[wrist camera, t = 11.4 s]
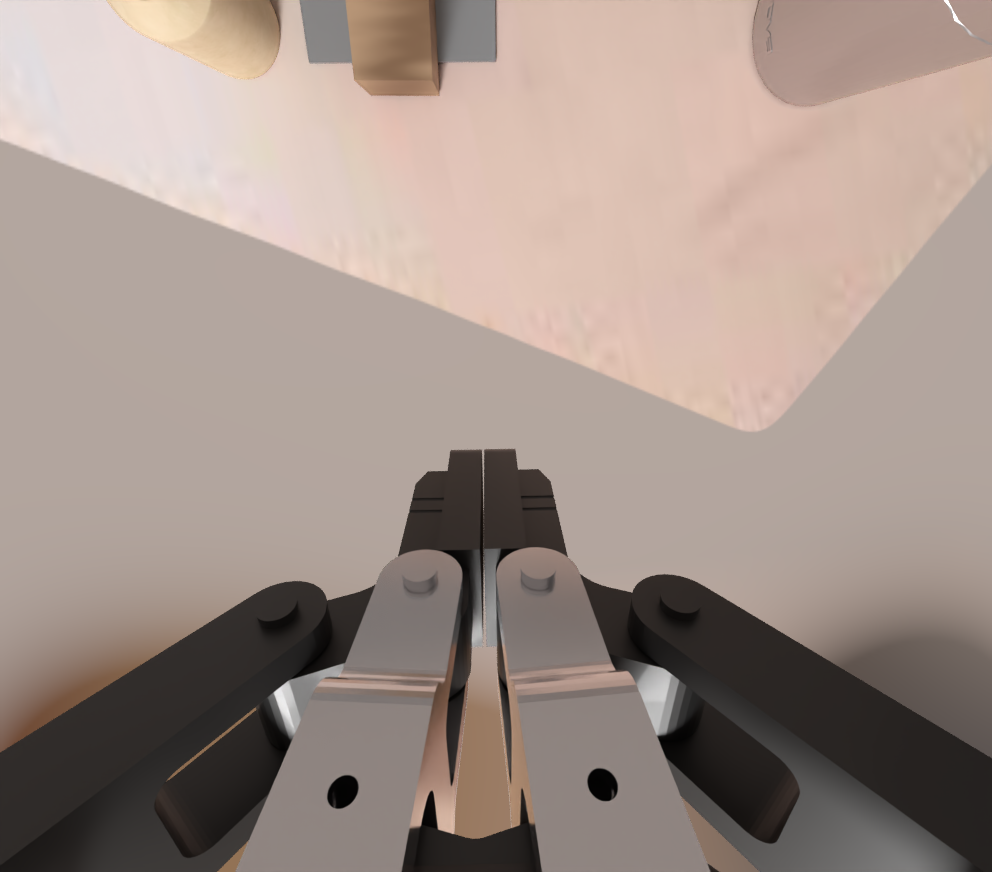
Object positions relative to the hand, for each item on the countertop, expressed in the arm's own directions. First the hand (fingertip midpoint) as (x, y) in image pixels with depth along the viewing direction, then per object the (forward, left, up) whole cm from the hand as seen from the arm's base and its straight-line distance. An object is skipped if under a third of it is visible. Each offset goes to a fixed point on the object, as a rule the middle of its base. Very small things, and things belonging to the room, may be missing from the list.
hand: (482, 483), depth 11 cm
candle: (+15, -16, -29) cm, 37 cm away
